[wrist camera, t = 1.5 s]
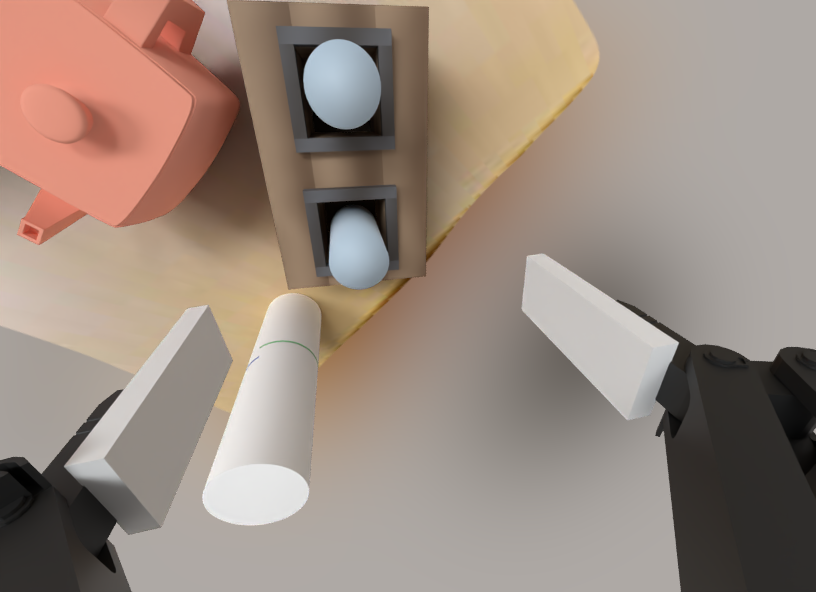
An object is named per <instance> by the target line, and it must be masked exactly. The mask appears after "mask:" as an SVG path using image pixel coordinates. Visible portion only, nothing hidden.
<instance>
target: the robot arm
mask: <svg viewBox="0 0 816 592" xmlns="http://www.w3.org/2000/svg"><path fill="white" fill-rule="evenodd" d="M522 311H523V312H524V313H525V314H526V315H527V316H528V317H529V318H530V319H531V320H532V321H533V322H534V323H535V324H536V325H537V326H538V327H539V328H540V330H542V332H543V333H544V334H545V335H546V336H547V337H548V338H549V339H550V340H551V341H552V342H553V343H554V344H555V345H556V346H557V347H558V348H559V349H560V350H561V351H562V353H563V354H565V356H566V357H567V358H568V359H569V360H570V361H571V362H572V363H573V364H574V365H575V366H576V367H577V368H578V369H579V370H580V371H581V372H582V373H583V374H584V375H585V376H586V378H587V379H588V380H589V381H590V382H591V383H592V384H593V385H594V386H595V387H596V388H597V389H598V390H599V391H600V392H601V393H602V394H603V395H604V396H605V397H606V398H607V399H608V401H609V402H610V403H611V404H612V405H613V406H614V407H615V408H616V409H617V410H618V411H619V412H620V413H621V414H622V415H623V416H624V417H625V418H626V419H627V420H631V419H635V418H639V417H644V416H649V415H650V414H651V411H652V409H653V406H654V404H655V401H658V402H659V403H660V404H661V405H662V406H663V407H664V408H665V409H666V410H665V412H664V414H663V417H662V419H661V422H660V424H659V426H658V428H657V431H656V436H658V437H660V435H661V433H662V431H664V436H665V444H666V454H667V464H668V472H669V483H670V492H671V501H672V510H673V520H674V530H675V538H676V549H677V558H678V568H679V577H680V586H681V592H816V434H815V433H814V432H813V431H814V429H815V428H816V350H814V349H807V348H800V347H786V348H783V349H781V350H780V351H779V353H778V354H777V356H776V358H775V360H774V361H773V362H766V361H750V360H748V359H747V358H745V357H744V356H742V355H741V354H739V353H737V352H735V351H732V350H730V349H727V348H723V347H720V346H715V345H706V344H705V345H697V346H696V345H694V344H693V343H691V342H690V341H688V340H686V339H685V338H683V337H682V336H680V335H678V334H677V333H675V332H674V331H672V330H671V329H669V328H668V327H666V326H664V325H663V324H661V323H657V320H655V319H653V318H652V317H650V316H647V314H645V313H644V312H642V311H641V310H639V309H638V308H636V307H635V306H632V305H630V304H627V303H624V302H622V301H619V300H613V299H612V298H610V297H609V296H607V295H606V294H604V293H603V292H601V291H600V290H598V289H597V288H595V287H594V286H592V285H591V284H589V283H588V282H586V281H585V280H583V279H581V278H580V277H579V276H577V275H575V274H574V273H572V272H571V271H569V270H568V269H566V268H565V267H563V266H562V265H560V264H559V263H557V262H555V261H554V260H553V259H551V258H550V257H548V256H546V255H545V254H536V255H529V256H527V261H526V271H525V282H524V290H523V300H522ZM232 361H233V360H232V357H231V355H230V353H229V351H228V348H227V346H226V344H225V341H224V339H223V337H222V334H221V332H220V330H219V328H218V325H217V323H216V321H215V318H214V316H213V314H212V311H211V309H210V307H209V305H205V306H198V307H192V308H187V309H186V311H185V312H184V313H183V315H182V316H181V317H180V318H179V320H178V321H177V322H176V324H175V325H174V326H173V327H172V329H171V330H170V331H169V333H168V334H167V335H166V336H165V338H164V339H163V340H162V341H161V343H160V344H159V345H158V347H157V348H156V349H155V350H154V352H153V353H152V354H151V356H150V357H149V358H148V359H147V361H146V362H145V363H144V365H143V366H142V367H141V368H140V370H139V371H138V372H137V373H136V375H135V376H134V377H133V379H132V380H131V381H130V382H129V384H128V385H127V386H126V388H125V389H123V390H117V391H116V392H115V393H113V394H112V395H111V396H110V397H108V398H107V399H106V400H104V401H103V402H102V403H101V404H99V405H98V407H97V408H96V409H95V410H94V411H93V413H92V414H91V415H90V417H88V419H87V422H86V423H84V424H83V425H82V426H81V427H80V428H79V430H78V431H77V432H76V435H75V436H73V437H72V438H71V439H70V440H69V442H68V443H67V444H66V445H65V446H64V448H63V449H62V450H61V452H60V453H59V454H58V455H57V456H56V457H55V459H54V460H53V461H52V462H51V463H50V465H49V466H48V467H47V468H46V469H45V471H44V472H43V473H42V474H40V473H39V472H38V471H37V470H36V469H35V468H34V467H33V466H32V465H31V464H30V463H29V462H28V461H27V460H26V459H25V458H24V457H11V458H7V459H4V460H0V592H131V589H130V587H129V584H128V581H127V579H126V576H125V574H124V571H123V568H122V565H121V563H120V560H119V557H118V555H117V552H116V550H115V547H114V545H113V544H112V543H111V542H110V541H109V540H108V539H107V538H108V537H109V535H110V533H111V531H112V529H113V528H114V526H115V524H116V522H117V523H118V524H119V525H120V526H121V527H122V529H123V530H124V531H125V532H126V533H127V534H128V535H130V534H134V533H139V532H143V531H148V530H152V529H156V528H161V527H162V525H163V522H164V520H165V518H166V515H167V513H168V511H169V508H170V506H171V504H172V501H173V499H174V496H175V494H176V492H177V489H178V487H179V485H180V483H181V480H182V478H183V476H184V473H185V471H186V469H187V466H188V464H189V462H190V459H191V457H192V454H193V452H194V450H195V447H196V445H197V443H198V440H199V438H200V436H201V433H202V431H203V429H204V426H205V424H206V422H207V419H208V417H209V415H210V412H211V410H212V407H213V405H214V403H215V401H216V398H217V396H218V394H219V391H220V389H221V387H222V384H223V382H224V380H225V377H226V375H227V373H228V370H229V368H230V366H231V363H232Z"/></svg>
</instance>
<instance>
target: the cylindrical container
mask: <svg viewBox="0 0 816 592" xmlns="http://www.w3.org/2000/svg"><path fill="white" fill-rule="evenodd" d="M321 316H322V315H321V310H320V308H319V306H318V305H317V303H316V302H315V301H314V300H313V299H311V298H310V297H308V296H305V295H303V294H298V293H289V294H284V295H281V296H279V297H277V298H276V299H274V300H273V301H272V302H271V304H270V305H269V307H268V310H267V313H266V315H265V318H264V321H263V324H262V327H261V330H260V333H259V335H258V338H257V341H256V344H255V347H254V349H253V352H252V355H251V358H250V361H249V364H248V366H247V369H246V372H245V375H244V378H243V381H242V383H241V386H240V389H239V392H238V395H237V398H236V401H235V403H234V406H233V409H232V412H231V415H230V418H229V421H228V423H227V426H226V429H225V432H224V435H223V437H222V440H221V443H220V446H219V449H218V452H217V454H216V457H215V460H214V463H213V466H212V468H211V471H210V474H209V477H208V480H207V483H206V485H205V488H204V491H203V496H202V500H203V504H204V506H205V508H206V510H207V511H208V512H209V513H211V514H212V515H213V516H215V517H216V518H218V519H220V520H223V521H225V522H229V523H233V524H239V525H262V524H267V523H272V522H276V521H279V520H282V519H285V518H287V517H289V516H291V515H292V514H294V513H295V512H297V511H298V510H299V509H300V508H301V507H302V506H303V505H304V504H305V502H306V501H307V499H308V496H309V485H310V471H311V458H312V443H313V430H314V415H315V402H316V388H317V374H318V360H319V346H320V331H321Z"/></svg>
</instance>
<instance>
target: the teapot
mask: <svg viewBox="0 0 816 592" xmlns="http://www.w3.org/2000/svg"><path fill="white" fill-rule="evenodd" d="M204 15H205V12H204V11H203V10H202V9H201V8H200V7H199V6H198V5H197V4H195V3H194V2H193V1H192V0H0V165H1V166H2V167H4V168H6V169H8V170H9V171H11V172H13V173H15V174H17V175H18V176H20V177H22V178H24V179H25V180H27V181H29V182H31V183H33V184H34V185H36V186H38V187H40V188H41V190H40V191H39V193H38V195H37V197H36V199H35V200H34V202H33V204H32V206H31V207H30V209H29V211H28V213H27V215H26V216H25V217H24V218H22V219H21V223H20V226H19V230H18V234H17V235H19V236H21V237H23V238H25V239H27V240H29V241H31V242H33V243H36V244H38V245H40V244H42V243H43V242H45V241H46V240H48V239H50V238H51V237H53V236H54V235H56V234H57V233H59V232H60V231H62V230H63V229H65V228H66V227H68V226H70V225H71V224H73V223H74V222H76V221H77V220H79V219H80V218H82V217H83V216H85V215H86V214H89V215H91V216H93V217H94V218H96V219H98V220H100V221H102V222H104V223H106V224H108V225H110V226H113V227H115V228H117V227H124V226H129V225H134V224H139V223H143V222H146V221H149V220H152V219H155V218H157V217H160V216H163V215H165V214H167V213H169V212H170V211H172V210H173V209H174V208H175V207H176V206H178V205H179V204H180V203H181V202H182V200H183V199H184V198H185V197H186V196H187V195H188V194H189V193H190V191H191V190H192V189H193V188H194V187H195V185H196V184H197V183H198V182H199V180H200V179H201V178H202V176H203V175H204V174H205V172H206V171H207V169H208V168H209V167H210V165H211V164H212V162H213V160H214V159H215V157H216V155H217V154H218V152H219V150H220V148H221V147H222V145H223V143H224V141H225V139H226V137H227V135H228V133H229V131H230V129H231V127H232V126H233V124H234V121H235V119H236V117H237V115H238V112H239V108H240V102H239V99H238V98H237V97H236V95H235V94H234V93H233V92H232V91H231V90H230V89H229V88H228V87H227V86H225V85H224V84H223V83H222V82H221V81H220V80H219V79H218V78H217V77H216V76H215V75H213V74H212V73H211V72H210V71H209V70H208V69H207V68H206V67H204V66H203V65H202V64H201V63H200V62H199V61H198V60H197V59H195V58H194V57H193V56H192V55H191V52H192V49H193V47H194V44H195V41H196V38H197V35H198V32H199V29H200V26H201V23H202V20H203V17H204Z"/></svg>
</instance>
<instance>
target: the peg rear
mask: <svg viewBox="0 0 816 592" xmlns="http://www.w3.org/2000/svg"><path fill="white" fill-rule="evenodd" d="M329 267H330V271H331V273H332V275H333V276H334V278H335V279H336V280H337V281H338V282H339V283H340V284H342V285H343V286H345V287H348V288H351V289H366V288H370V287H372V286H374V285H376V284H377V283H379V282H380V281H381V280H382V279H383V278H384V276H385V275H386V273H387V271H388V267H389V256H388V252H387V250H386V247H385V244H384V242H383V239H382V236H381V234H380V231H379V229H378V226H377V223H376V221H375V218H374V216H373V215H372V213H371V212H370V211H369V210H368V209H366V208H364V207H362V206H360V205H347V206H344V207H342V208H340V209H339V210H338V211H337V212H336V213H335V214H334V216H333V218H332V220H331V229H330V250H329Z"/></svg>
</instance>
